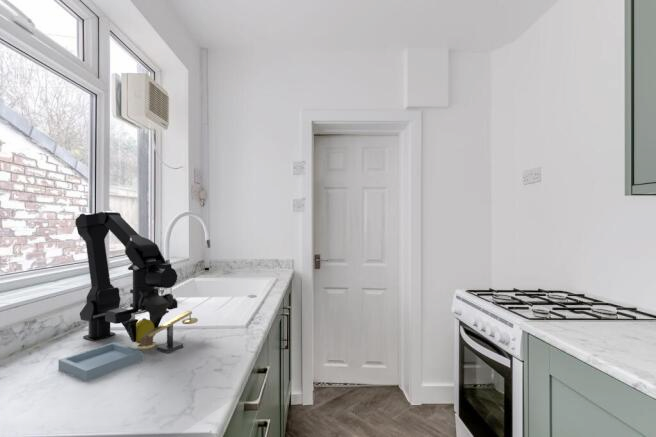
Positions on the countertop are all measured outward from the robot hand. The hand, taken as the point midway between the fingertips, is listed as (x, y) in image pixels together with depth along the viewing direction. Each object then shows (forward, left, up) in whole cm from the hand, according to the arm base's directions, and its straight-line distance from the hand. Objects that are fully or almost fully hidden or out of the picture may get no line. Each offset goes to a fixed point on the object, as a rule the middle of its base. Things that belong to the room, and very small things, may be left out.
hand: (143, 338), depth 95 cm
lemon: (0, 0, -2) cm, 2 cm away
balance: (+9, +2, -2) cm, 9 cm away
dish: (+3, -13, -2) cm, 13 cm away
